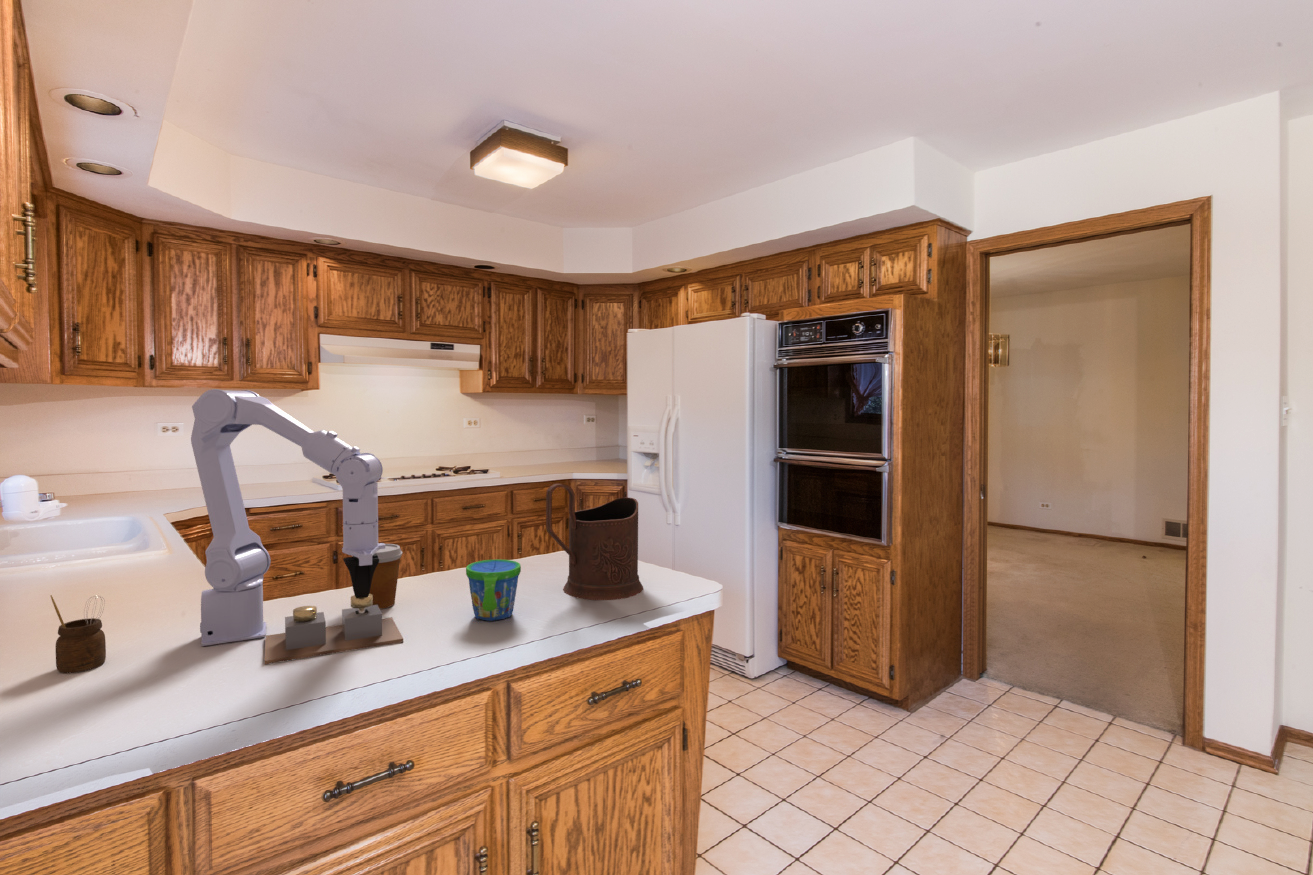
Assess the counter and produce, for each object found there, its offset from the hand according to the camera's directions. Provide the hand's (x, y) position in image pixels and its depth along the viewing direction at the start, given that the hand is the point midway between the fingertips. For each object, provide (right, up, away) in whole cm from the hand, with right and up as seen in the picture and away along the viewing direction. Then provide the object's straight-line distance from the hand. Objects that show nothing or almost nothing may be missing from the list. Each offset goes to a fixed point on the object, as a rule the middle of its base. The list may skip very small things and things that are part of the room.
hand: (361, 596), depth 118 cm
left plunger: (-8, -7, -4) cm, 11 cm away
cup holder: (+39, -6, +31) cm, 50 cm away
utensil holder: (-38, -8, -15) cm, 41 cm away
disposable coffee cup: (-5, -6, +18) cm, 20 cm away
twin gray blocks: (-4, -7, -2) cm, 8 cm away
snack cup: (+21, -7, +12) cm, 25 cm away
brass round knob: (0, -5, 0) cm, 5 cm away
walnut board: (-4, -7, -2) cm, 8 cm away
